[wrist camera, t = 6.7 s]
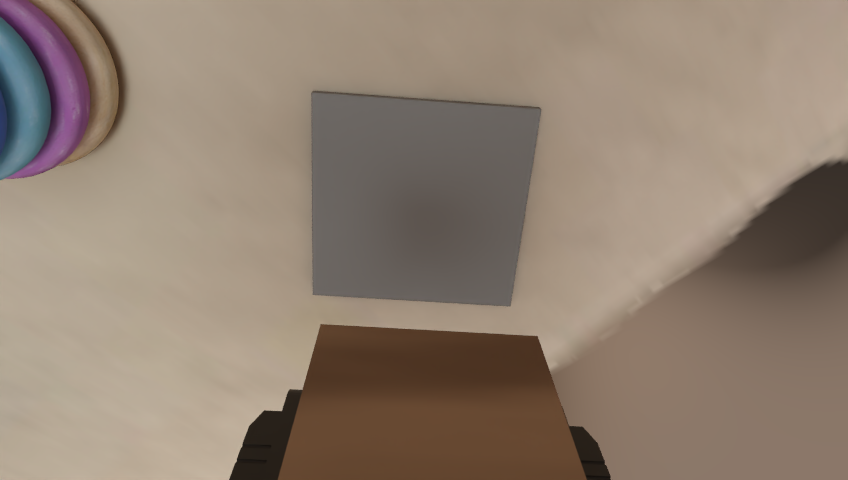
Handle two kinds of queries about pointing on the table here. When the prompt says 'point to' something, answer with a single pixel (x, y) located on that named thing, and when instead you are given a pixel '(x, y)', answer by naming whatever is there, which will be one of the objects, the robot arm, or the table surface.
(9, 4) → the stacking toy
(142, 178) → the table surface
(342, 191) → the mat
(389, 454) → the cube
